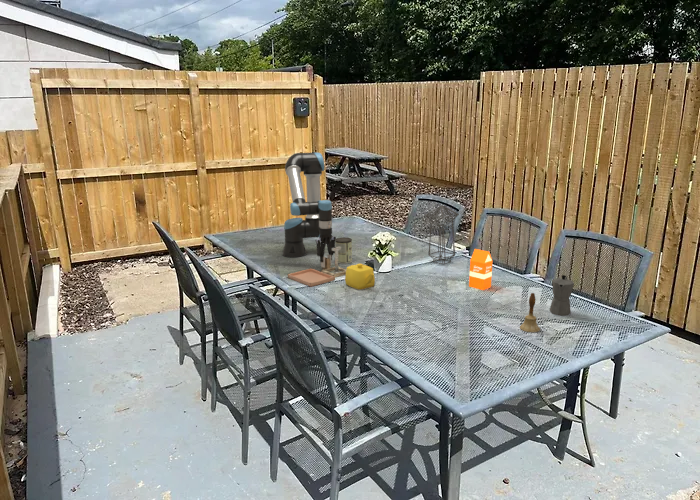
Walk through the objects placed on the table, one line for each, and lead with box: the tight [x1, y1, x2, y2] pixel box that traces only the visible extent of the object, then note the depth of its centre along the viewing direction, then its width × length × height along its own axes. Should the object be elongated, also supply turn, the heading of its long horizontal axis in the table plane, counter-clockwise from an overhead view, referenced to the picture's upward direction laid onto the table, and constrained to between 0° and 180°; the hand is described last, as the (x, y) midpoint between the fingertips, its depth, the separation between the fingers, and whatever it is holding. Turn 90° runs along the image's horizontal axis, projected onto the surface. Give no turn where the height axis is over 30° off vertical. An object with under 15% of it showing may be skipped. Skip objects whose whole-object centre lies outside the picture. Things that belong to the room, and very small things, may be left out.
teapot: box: [344, 263, 376, 291], centre depth 284 cm, size 20×12×12 cm, turn 36°
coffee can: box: [335, 237, 353, 264], centre depth 328 cm, size 10×10×14 cm
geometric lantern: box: [425, 205, 460, 265], centre depth 323 cm, size 16×16×35 cm
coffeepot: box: [549, 274, 575, 317], centre depth 245 cm, size 15×9×18 cm, turn 151°
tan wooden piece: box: [320, 256, 347, 278], centre depth 308 cm, size 17×12×7 cm
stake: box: [332, 246, 341, 274], centre depth 304 cm, size 4×6×15 cm
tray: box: [287, 267, 336, 288], centre depth 296 cm, size 22×17×2 cm
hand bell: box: [519, 292, 541, 333], centre depth 227 cm, size 8×8×16 cm
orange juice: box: [468, 248, 493, 291], centre depth 279 cm, size 8×9×20 cm
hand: (326, 266), depth 312 cm, fingers open, 4 cm apart
